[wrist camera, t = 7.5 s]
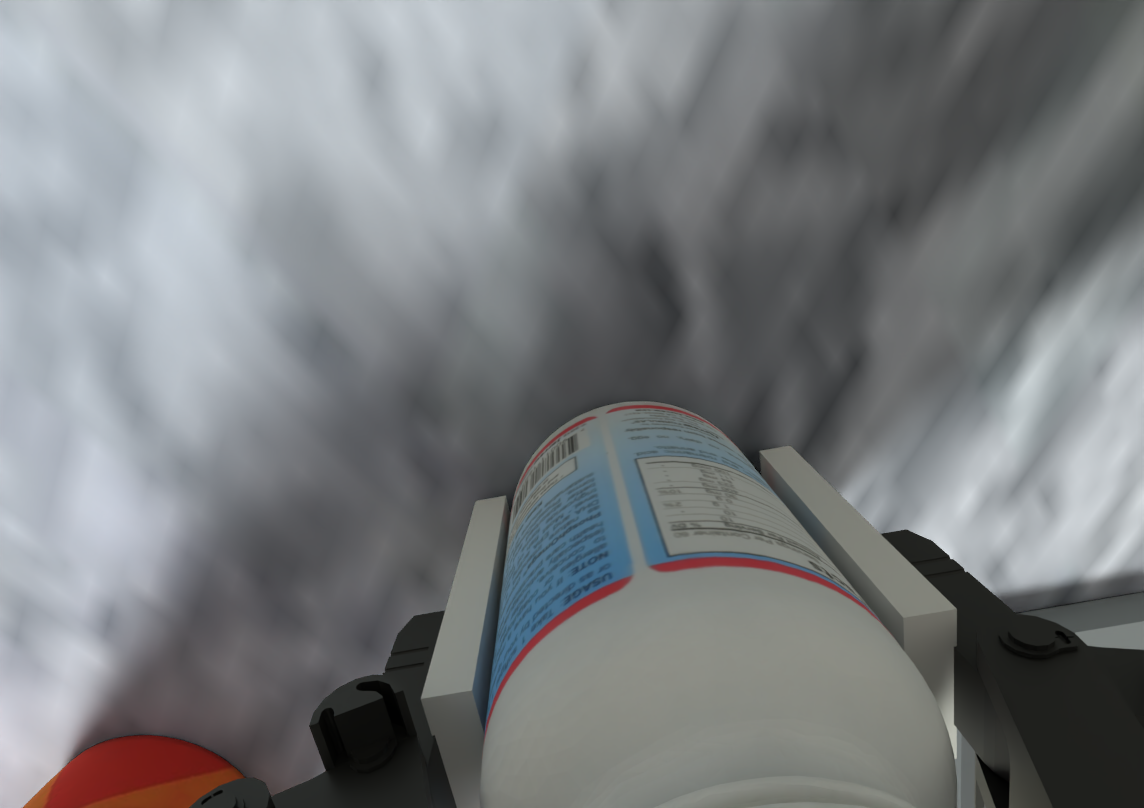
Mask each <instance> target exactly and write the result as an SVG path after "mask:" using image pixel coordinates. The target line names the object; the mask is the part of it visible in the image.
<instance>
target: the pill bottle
mask: <svg viewBox="0 0 1144 808" xmlns="http://www.w3.org/2000/svg"><path fill="white" fill-rule="evenodd" d="M479 799H480V808H957V775H956V766H955V758H954V752H953V748H952V744H951V740H950V736H949V733H948V730H947V727H946V724H945V721H944V718H943V716H942V713H941V710H940V708H939V706H938V704H937V702H936V699H935V697H934V695H933V694H932V692H931V690H930V688H929V687H928V685H927V683H926V682H925V680H924V678H923V677H922V675H921V674H920V672H919V671H918V669H917V668H916V666H915V665H914V663H913V662H912V661H911V659H910V658H909V657H908V655H907V654H906V653H905V652H904V650H903V649H902V648H901V646H900V645H899V643H898V642H897V641H896V639H895V638H894V636H893V635H892V634H891V633H890V632H889V631H888V630H887V629H886V627H885V626H884V625H883V624H882V622H881V621H880V619H879V618H878V617H877V616H876V614H875V613H874V612H873V611H872V610H871V609H870V608H869V607H868V605H867V604H866V603H865V601H864V600H863V599H862V598H861V596H860V595H859V594H858V593H857V592H856V591H855V589H854V588H853V587H852V586H851V584H850V583H849V582H848V581H847V580H846V578H845V577H844V576H843V575H842V574H841V572H840V571H839V570H838V569H837V568H836V566H835V565H834V564H833V563H832V561H831V560H830V559H829V558H828V557H827V555H826V554H825V553H824V552H823V551H822V549H821V548H820V547H819V546H818V545H817V543H816V542H815V541H814V540H813V538H812V537H811V536H810V535H809V534H808V532H807V531H806V530H805V529H804V528H803V526H802V525H801V524H800V522H799V521H798V520H797V519H796V518H795V517H794V515H793V514H792V513H791V511H790V510H789V509H788V508H787V507H786V505H785V504H784V503H783V502H782V501H781V500H780V498H779V497H778V496H777V495H776V493H775V492H774V491H773V490H772V489H771V487H770V486H769V485H768V484H767V483H766V481H765V480H764V479H763V477H762V476H761V475H760V474H759V473H758V472H757V470H756V469H755V468H754V467H753V465H752V464H751V463H750V462H749V461H748V459H747V458H746V457H745V456H744V454H743V453H742V452H741V451H740V450H739V448H738V447H737V446H736V445H735V444H734V443H733V442H732V441H731V440H730V439H729V438H728V437H727V436H726V435H725V434H724V433H723V432H722V431H721V430H720V429H718V428H717V427H716V426H715V425H713V424H712V423H710V422H709V421H707V420H706V419H704V418H702V417H701V416H699V415H697V414H695V413H692V412H690V411H688V410H685V409H682V408H680V407H677V406H674V405H669V404H665V403H659V402H649V401H634V402H622V403H616V404H611V405H607V406H603V407H600V408H596V409H594V410H591V411H588V412H586V413H584V414H581V415H579V416H577V417H575V418H574V419H572V420H570V421H569V422H567V423H566V424H564V425H563V426H561V427H560V428H559V429H557V430H556V431H555V432H554V433H553V434H551V435H550V436H549V437H548V438H547V439H546V440H545V441H544V442H543V443H542V444H541V445H540V447H539V448H538V449H537V450H536V452H535V453H534V454H533V456H532V457H531V459H530V460H529V462H528V463H527V465H526V466H525V468H524V470H523V472H522V475H521V477H520V480H519V482H518V485H517V488H516V491H515V495H514V499H513V504H512V510H511V515H510V524H509V532H508V540H507V549H506V557H505V566H504V575H503V583H502V591H501V600H500V610H499V618H498V626H497V634H496V642H495V650H494V658H493V665H492V673H491V682H490V691H489V700H488V708H487V716H486V724H485V734H484V744H483V753H482V767H481V778H480V796H479Z"/></svg>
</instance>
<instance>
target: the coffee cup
mask: <svg viewBox="0 0 1144 808" xmlns="http://www.w3.org/2000/svg"><path fill="white" fill-rule="evenodd" d="M242 778H245V777H244V776H243V775H242V773H241V772H239V771H238V770H237V769H236V768H235V767H234V766H233V765H231V764H230V763H229V762H227V761H226V760H225V759H223V758H222V757H220V756H218V755H217V754H215V753H213V752H211V751H209V750H207V749H205V748H203V747H200V746H198V745H195V744H193V743H190V742H186V741H183V740H179V739H175V738H170V737H163V736H153V735H134V736H125V737H119V738H115V739H111V740H107V741H104V742H101V743H99V744H97V745H94V746H92V747H90V748H88V749H87V750H85V751H84V752H82V753H81V754H79V755H78V756H77V757H76V758H74V759H73V760H72V761H71V762H69V763H68V764H67V765H66V766H65V767H64V768H63V769H62V770H61V771H60V772H59V773H58V774H57V775H55V776H54V777H53V778H52V779H51V780H50V781H49V782H48V783H47V784H46V785H45V786H44V787H43V788H42V789H41V790H40V791H39V792H38V793H37V794H36V795H35V796H34V797H33V798H32V799H31V800H30V801H29V802H28V803H27V804H26V805H25V806H24V807H23V808H189V807H190V806H191V805H192V804H193V803H195V802H196V801H197V800H198V799H199V798H200V797H202V796H203V795H205V794H207V793H208V792H210V791H211V790H213V789H215V788H216V787H218V786H220V785H222V784H225V783H228V782H231V781H233V780H236V779H242Z"/></svg>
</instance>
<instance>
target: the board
mask: <svg viewBox="0 0 1144 808" xmlns="http://www.w3.org/2000/svg"><path fill="white" fill-rule="evenodd" d="M1017 614H1023V615H1031V616H1037V617H1040V618H1043V619H1046V620H1049V621H1053V622H1056V623H1058V624H1060V625H1061V626H1063V627H1065V628H1067V629H1069V630H1070V631H1072V632H1074V633H1075V634H1076V635H1077V636H1078V637H1079V638H1080V639H1081V640H1082V641H1083V642H1084V643H1085V644H1086V645H1087V646H1095V647H1105V648H1122V649H1140V650H1144V592H1142V593H1136V594H1130V595H1124V596H1118V597H1112V598H1106V599H1100V600H1094V601H1088V602H1082V603H1076V604H1070V605H1064V606H1058V607H1052V608H1046V609H1041V610H1035V611H1029V612H1023V613H1017ZM955 766H956V775H957V808H975V806H974V791H975V751H974V749H973V748H972V747H971V746H970V744H969V743H968V742H967V740H966V739H965V738H964V737H963V735H962V734H961V733H960V732H959V730H958V729H957V759H955ZM984 808H986V806H985V804H984Z"/></svg>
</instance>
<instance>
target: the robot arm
mask: <svg viewBox="0 0 1144 808" xmlns="http://www.w3.org/2000/svg"><path fill="white" fill-rule="evenodd" d="M759 455H760V465H761V475H762V477H763V479H764V480H765V481H766V483H767V484H768V485H769V486H770V487H771V489H772V490H773V491H774V492H775V493H776V495H777V496H778V497H779V498H780V500H781V501H782V502H783V503H784V504H785V505H786V507H787V508H788V509H789V510H790V511H791V513H792V514H793V515H794V517H795V518H796V519H797V520H798V521H799V522H800V524H801V525H802V526H803V528H804V529H805V530H806V531H807V532H808V534H809V535H810V536H811V537H812V538H813V540H814V541H815V542H816V543H817V545H818V546H819V547H820V548H821V549H822V551H823V552H824V553H825V554H826V555H827V557H828V558H829V559H830V560H831V561H832V563H833V564H834V565H835V566H836V568H837V569H838V570H839V571H840V572H841V574H842V575H843V576H844V577H845V578H846V580H847V581H848V582H849V583H850V584H851V586H852V587H853V588H854V589H855V591H856V592H857V593H858V594H859V595H860V596H861V598H862V599H863V600H864V601H865V603H866V604H867V605H868V607H869V608H870V609H871V610H872V611H873V612H874V613H875V614H876V616H877V617H878V618H879V619H880V621H881V622H882V624H883V625H884V626H885V627H886V629H887V630H888V631H889V632H890V633H891V634H892V635H893V636H894V638H895V639H896V641H897V642H898V643H899V645H900V646H901V648H902V649H903V650H904V652H905V653H906V654H907V655H908V657H909V658H910V659H911V661H912V662H913V663H914V665H915V666H916V668H917V669H918V671H919V672H920V674H921V675H922V677H923V678H924V680H925V682H926V683H927V685H928V687H929V688H930V690H931V692H932V694H933V695H934V697H935V699H936V702H937V704H938V706H939V708H940V710H941V713H942V716H943V718H944V721H945V724H946V727H947V730H948V733H949V736H950V740H951V744H952V748H953V752H954V758H955V759H957V729H958V730H959V732H960V733H961V734H962V735H963V737H964V738H965V739H966V740H967V742H968V743H969V744H970V746H971V747H972V748H973V749H974V751H975V791H974V806H975V808H984V804H985V806H986V808H1144V650H1140V649H1122V648H1105V647H1095V646H1087V645H1086V644H1085V643H1084V642H1083V641H1082V640H1081V639H1080V638H1079V637H1078V636H1077V635H1076V634H1075V633H1074V632H1072V631H1070V630H1069V629H1067V628H1065V627H1063V626H1061V625H1060V624H1058V623H1056V622H1053V621H1049V620H1046V619H1043V618H1040V617H1037V616H1031V615H1023V614H1016V613H1015V612H1013V611H1012V610H1011V609H1010V608H1009V607H1008V606H1007V605H1005V604H1004V603H1003V602H1002V601H1001V600H1000V599H998V598H997V597H996V596H995V595H994V594H993V593H992V592H990V591H989V590H988V589H987V588H986V587H985V586H983V585H982V584H981V583H980V582H979V581H978V580H976V579H975V578H974V577H973V576H972V575H971V574H970V573H968V572H965V571H964V568H963V567H961V566H960V565H959V564H958V563H957V562H956V561H955V560H953V559H950V557H949V555H948V554H946V553H945V552H944V551H943V550H942V549H941V548H939V547H938V546H937V545H936V544H935V543H934V542H933V541H931V540H929V539H926V538H924V537H922V536H920V535H917V534H915V533H913V532H911V531H908V530H901V531H895V532H889V533H883V534H880V533H879V532H878V531H877V530H876V529H875V528H874V527H873V526H872V525H871V524H870V523H869V522H868V521H867V520H866V519H865V518H864V517H863V516H862V515H861V514H860V513H859V512H858V511H856V510H855V509H854V508H853V507H852V506H851V505H850V504H849V503H848V502H847V501H846V500H845V499H844V498H843V497H842V496H841V495H840V494H839V493H838V492H837V491H836V490H835V489H834V488H833V487H832V486H831V485H830V484H829V483H828V482H827V481H826V480H825V479H824V478H823V477H822V476H821V475H820V474H819V473H818V472H817V471H816V470H815V469H814V468H813V467H812V466H811V465H810V464H809V463H808V462H807V461H805V460H804V459H803V458H802V457H801V456H800V455H799V454H798V453H797V452H796V451H795V450H794V449H793V448H792V447H791V446H784V447H779V448H773V449H767V450H762V451H759ZM509 524H510V511H509V507H508V503H507V498H506V496H501V497H495V498H489V499H484V500H478V501H475V505H474V509H473V512H472V516H471V519H470V523H469V527H468V530H467V534H466V537H465V541H464V545H463V548H462V552H461V555H460V559H459V563H458V566H457V570H456V573H455V577H454V581H453V584H452V588H451V591H450V595H449V599H448V602H447V606H446V610H445V611H440V612H434V613H428V614H422V615H416V616H414V617H413V618H412V619H411V620H410V621H409V622H408V623H407V624H406V626H405V627H404V628H403V629H402V630H401V631H400V632H399V633H398V635H397V638H396V641H395V643H394V646H393V649H392V651H391V657H389V659H388V662H387V665H386V667H385V673H383V675H370V676H366V677H362V678H358V679H355V680H353V681H351V682H349V683H347V684H345V685H343V686H341V687H339V688H338V689H337V690H335V691H334V692H333V693H332V694H330V695H329V696H328V697H326V698H325V699H324V700H323V702H322V703H321V704H320V705H319V707H318V708H317V709H316V710H315V712H314V713H313V716H312V719H311V722H310V725H309V727H310V729H311V732H312V735H313V737H314V740H315V742H316V745H317V748H318V750H319V753H320V756H321V758H322V761H323V764H324V766H325V769H326V771H325V772H324V773H323V774H321V775H319V776H317V777H315V778H313V779H311V780H309V781H307V782H304V783H302V784H300V785H297V786H295V787H293V788H290V789H288V790H286V791H283V792H281V793H279V794H276V795H274V796H272V797H271V796H270V793H269V791H268V788H267V786H266V784H265V783H264V782H262V781H260V780H258V779H256V778H242V779H236V780H233V781H231V782H228V783H225V784H222V785H220V786H218V787H216V788H215V789H213V790H211V791H210V792H208V793H207V794H205V795H203V796H202V797H200V798H199V799H198V800H197V801H196V802H195V803H193V804H192V805H191V806H190V807H189V808H480V799H479V796H480V778H481V767H482V753H483V744H484V734H485V724H486V716H487V708H488V700H489V691H490V682H491V673H492V665H493V658H494V650H495V642H496V634H497V626H498V618H499V610H500V600H501V591H502V583H503V575H504V566H505V557H506V549H507V540H508V532H509Z"/></svg>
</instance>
